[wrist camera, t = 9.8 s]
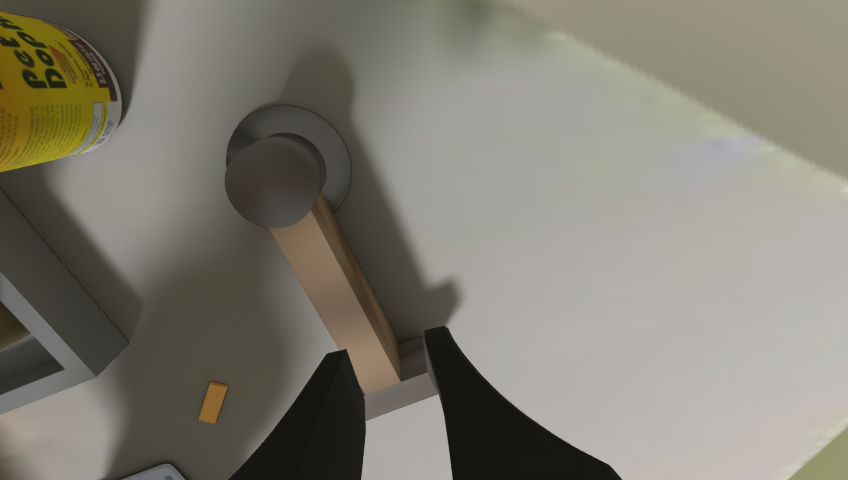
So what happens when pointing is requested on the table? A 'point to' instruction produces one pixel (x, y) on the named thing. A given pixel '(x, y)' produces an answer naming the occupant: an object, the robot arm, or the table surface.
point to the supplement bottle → (52, 93)
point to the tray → (46, 319)
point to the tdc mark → (213, 402)
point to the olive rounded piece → (10, 328)
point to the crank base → (309, 128)
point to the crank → (327, 267)
